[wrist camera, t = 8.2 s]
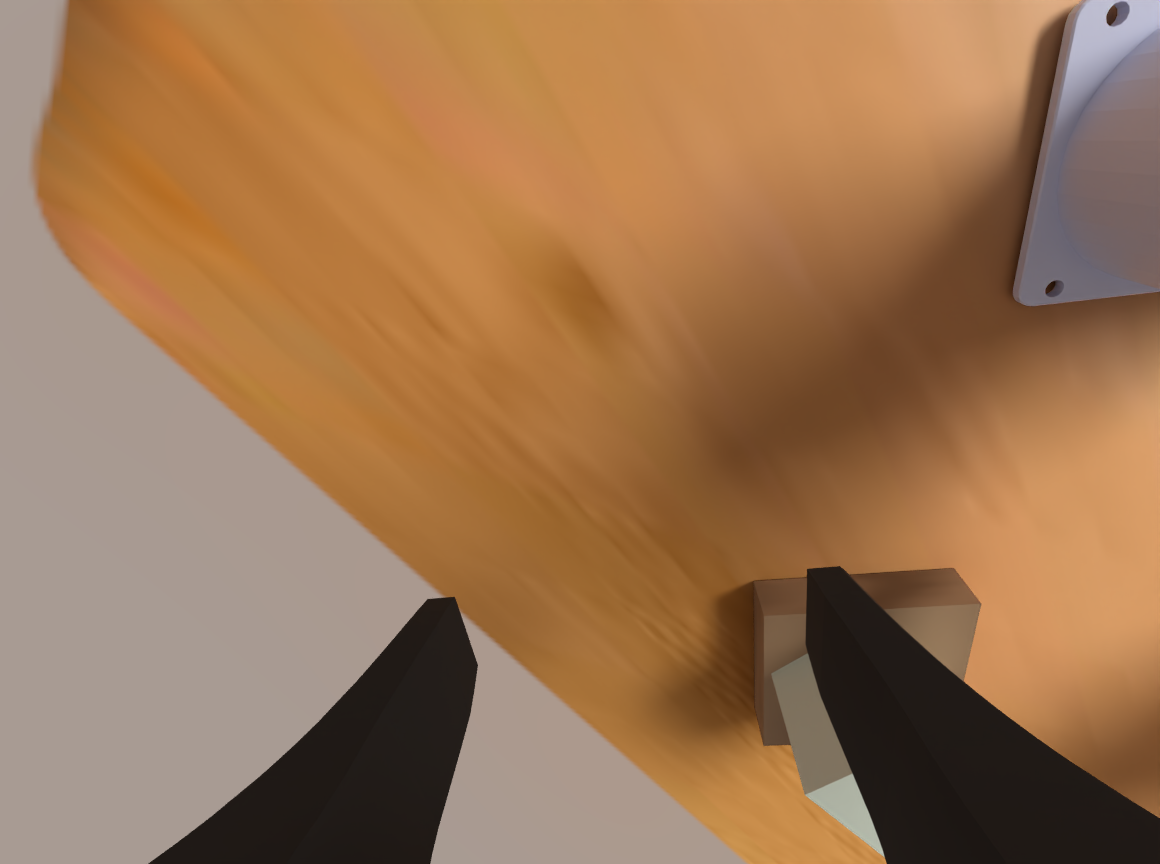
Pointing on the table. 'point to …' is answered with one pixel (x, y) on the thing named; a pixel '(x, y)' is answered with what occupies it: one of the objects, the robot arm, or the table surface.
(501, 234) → the table surface
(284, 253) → the table surface
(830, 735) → the painted cube
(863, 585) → the walnut plinth
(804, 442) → the table surface
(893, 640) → the robot arm
